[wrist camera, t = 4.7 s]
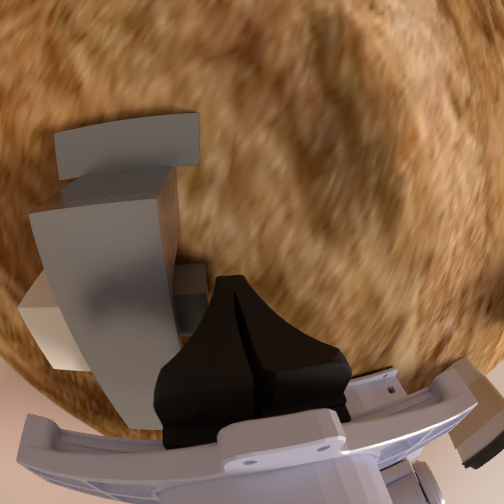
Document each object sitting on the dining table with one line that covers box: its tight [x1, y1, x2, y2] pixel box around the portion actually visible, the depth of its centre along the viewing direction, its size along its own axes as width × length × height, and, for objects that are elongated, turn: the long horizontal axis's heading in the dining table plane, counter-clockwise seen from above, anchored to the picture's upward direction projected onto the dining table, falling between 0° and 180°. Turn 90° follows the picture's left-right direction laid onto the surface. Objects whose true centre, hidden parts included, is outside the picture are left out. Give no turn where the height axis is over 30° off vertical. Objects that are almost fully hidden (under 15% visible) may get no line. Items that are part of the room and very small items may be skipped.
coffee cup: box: [442, 357, 504, 469], centre depth 21 cm, size 9×9×15 cm
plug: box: [17, 262, 210, 371], centre depth 12 cm, size 8×4×4 cm, turn 91°
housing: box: [28, 113, 200, 430], centre depth 11 cm, size 6×16×5 cm, turn 178°
